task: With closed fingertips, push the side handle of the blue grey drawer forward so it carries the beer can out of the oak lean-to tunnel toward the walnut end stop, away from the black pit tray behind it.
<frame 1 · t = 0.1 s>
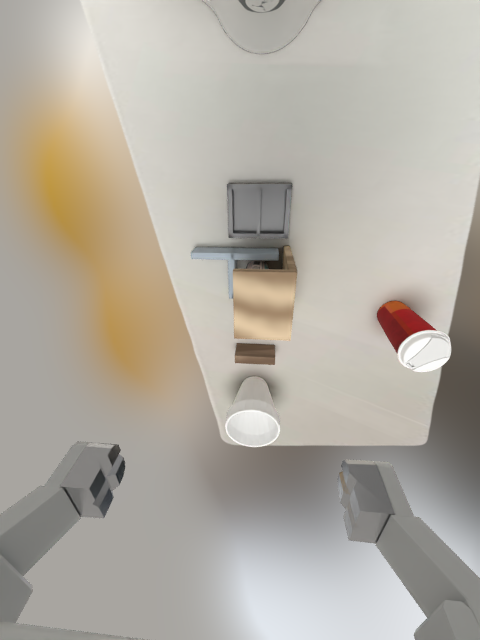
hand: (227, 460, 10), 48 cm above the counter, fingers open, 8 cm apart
beer can: (257, 269, 56), on the counter
coffee cup: (391, 312, 58), on the counter
pit tray: (258, 210, 50), on the counter
blue grey drawer: (235, 273, 54), point 2 cm above the counter, slide at 0.0 cm
tunnel: (257, 274, 56), on the counter
end stop: (255, 347, 66), on the counter
cup: (254, 385, 72), on the counter
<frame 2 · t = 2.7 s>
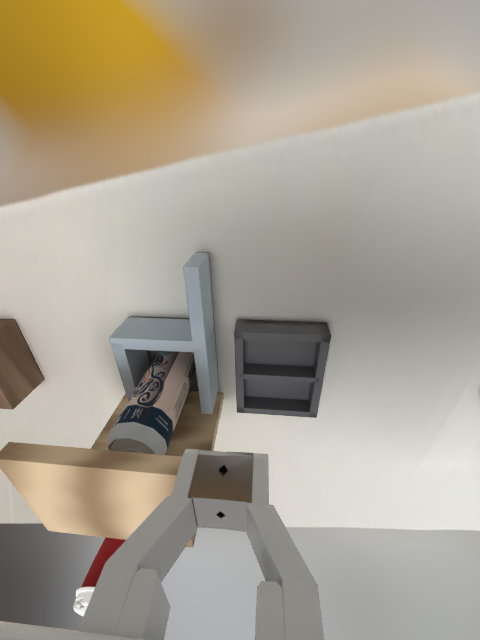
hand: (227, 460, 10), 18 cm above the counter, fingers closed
beer can: (178, 357, 32), on the counter
coffee cup: (149, 489, 47), on the counter
pit tray: (278, 363, 30), on the counter
blue grey drawer: (165, 338, 27), point 2 cm above the counter, slide at 0.0 cm
tunnel: (169, 358, 32), on the counter
end stop: (23, 351, 33), on the counter
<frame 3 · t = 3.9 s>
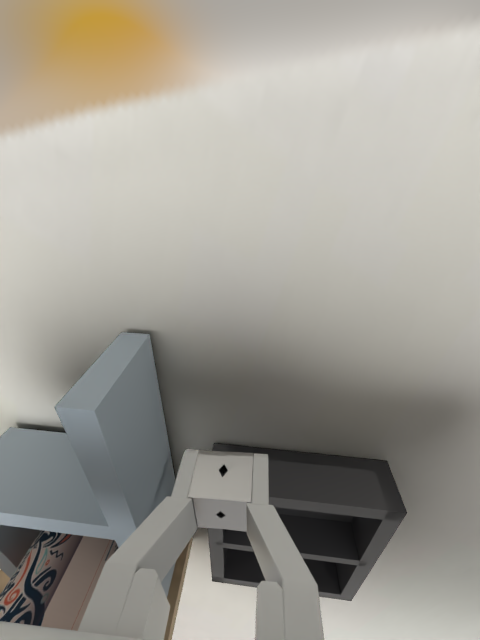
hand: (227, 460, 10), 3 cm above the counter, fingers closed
beer can: (113, 482, 18), on the counter
pit tray: (287, 506, 17), on the counter
blue grey drawer: (70, 484, 14), point 2 cm above the counter, slide at 0.0 cm
tunnel: (97, 484, 18), on the counter
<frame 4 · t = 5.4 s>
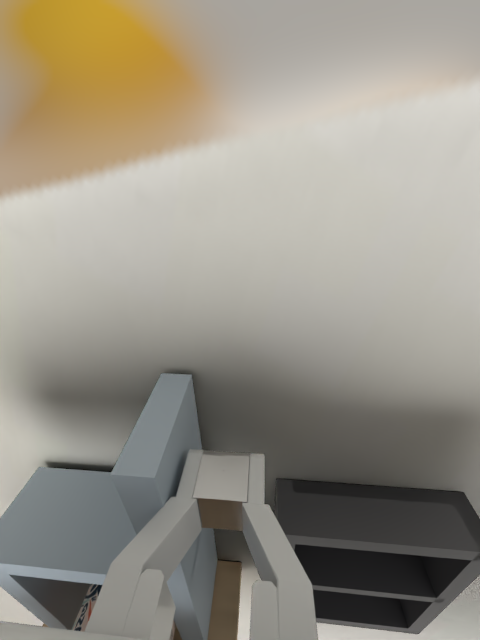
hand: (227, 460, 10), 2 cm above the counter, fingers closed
beer can: (159, 516, 17), on the counter, touching blue grey drawer
pit tray: (348, 537, 16), on the counter
blue grey drawer: (107, 528, 13), point 2 cm above the counter, slide at 1.2 cm, touching beer can, gripper
tunnel: (145, 519, 17), on the counter
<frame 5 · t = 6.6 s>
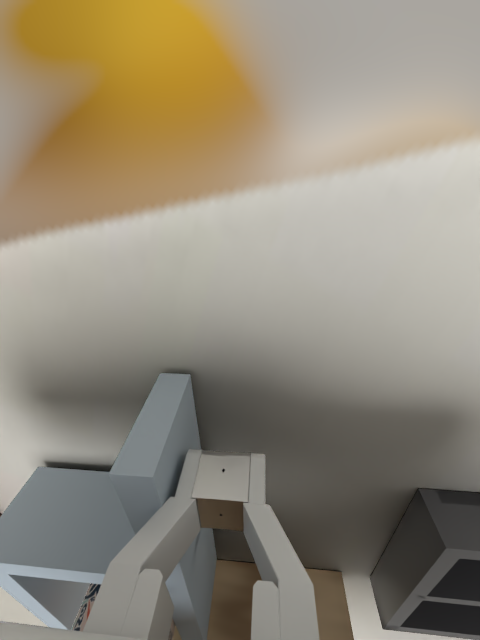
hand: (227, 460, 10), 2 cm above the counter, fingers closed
beer can: (159, 517, 17), on the counter, touching blue grey drawer
pit tray: (471, 547, 16), on the counter
blue grey drawer: (106, 527, 13), point 2 cm above the counter, slide at 8.2 cm, touching beer can, gripper
tunnel: (254, 528, 17), on the counter
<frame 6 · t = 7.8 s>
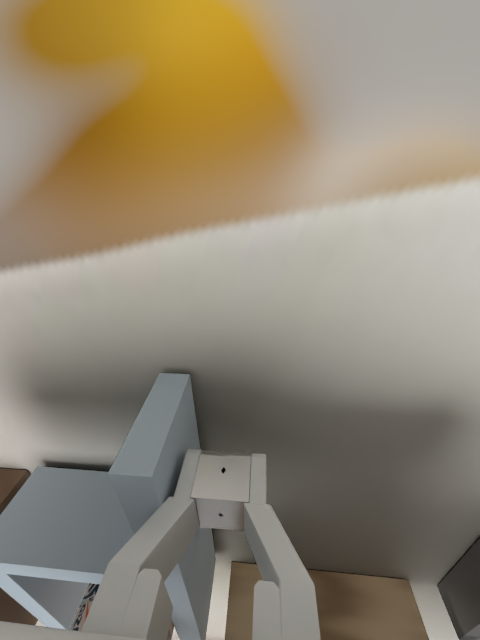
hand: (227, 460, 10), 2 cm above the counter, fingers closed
beer can: (158, 517, 17), on the counter, touching blue grey drawer
blue grey drawer: (105, 527, 13), point 2 cm above the counter, slide at 12.6 cm, touching beer can, gripper
tunnel: (328, 536, 16), on the counter
end stop: (40, 509, 18), on the counter
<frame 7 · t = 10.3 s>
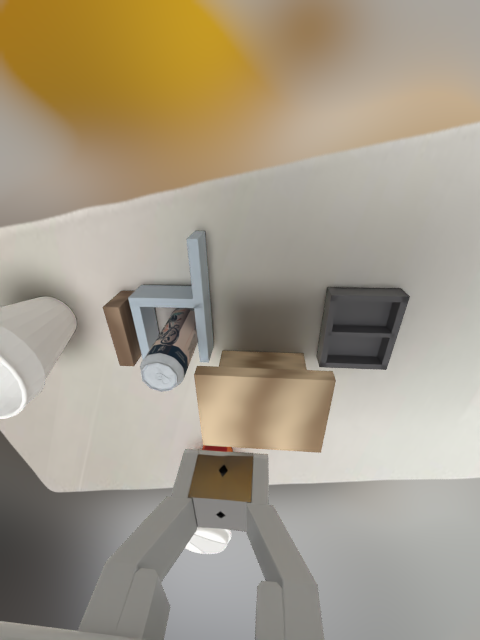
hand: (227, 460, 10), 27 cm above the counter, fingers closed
beer can: (187, 320, 39), on the counter
coffee cup: (218, 449, 53), on the counter
pit tray: (355, 325, 37), on the counter
blue grey drawer: (171, 300, 35), point 2 cm above the counter, slide at 12.8 cm
tunnel: (263, 322, 38), on the counter
end stop: (135, 319, 39), on the counter
cup: (55, 316, 41), on the counter
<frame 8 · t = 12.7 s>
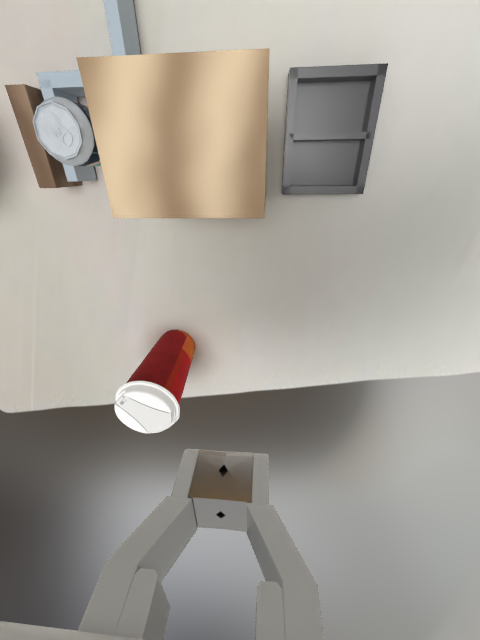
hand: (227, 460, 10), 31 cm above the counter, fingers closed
beer can: (125, 142, 32), on the counter
coffee cup: (178, 344, 46), on the counter
pit tray: (325, 138, 30), on the counter
blue grey drawer: (96, 91, 28), point 2 cm above the counter, slide at 12.8 cm
tunnel: (214, 140, 31), on the counter
end stop: (63, 143, 33), on the counter
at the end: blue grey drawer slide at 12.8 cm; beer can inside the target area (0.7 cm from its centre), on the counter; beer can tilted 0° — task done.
